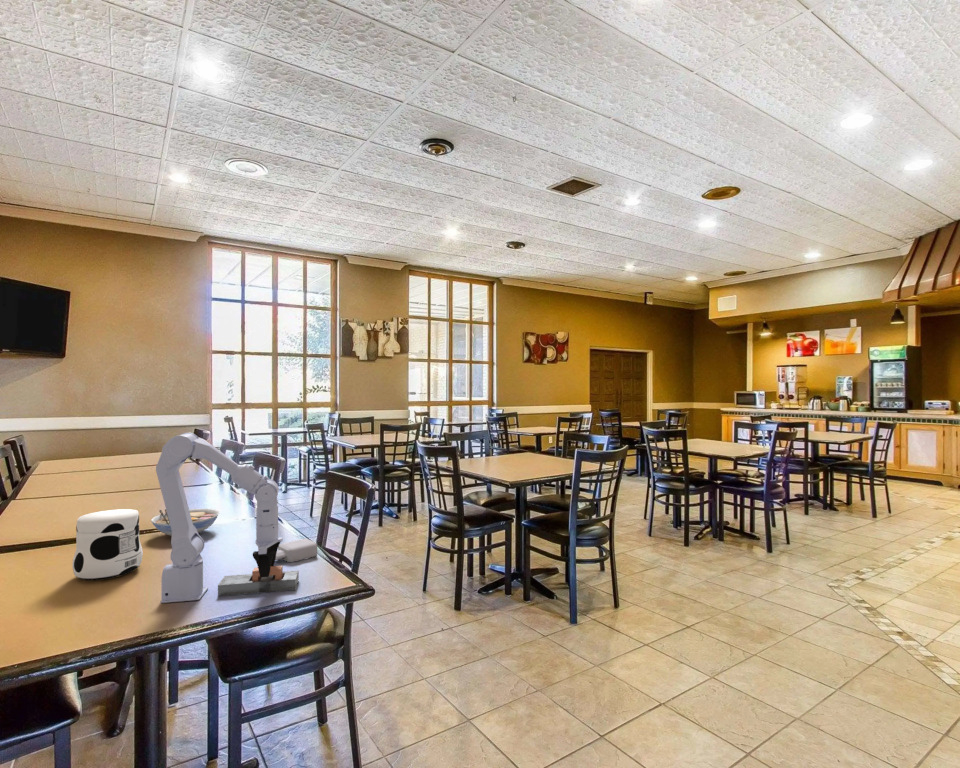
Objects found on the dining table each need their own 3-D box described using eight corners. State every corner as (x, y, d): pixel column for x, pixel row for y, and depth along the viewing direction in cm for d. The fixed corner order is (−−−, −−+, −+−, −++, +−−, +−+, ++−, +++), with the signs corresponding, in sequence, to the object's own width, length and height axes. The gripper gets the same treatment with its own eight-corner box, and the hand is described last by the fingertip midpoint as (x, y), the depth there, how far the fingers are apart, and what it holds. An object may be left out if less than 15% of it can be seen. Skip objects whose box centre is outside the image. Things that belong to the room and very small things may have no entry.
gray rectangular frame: (217, 596, 141) (217, 585, 141) (224, 586, 147) (224, 576, 147) (295, 590, 145) (295, 579, 145) (298, 580, 152) (298, 570, 152)
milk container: (82, 569, 162) (82, 511, 162) (147, 561, 168) (147, 506, 168) (63, 589, 146) (63, 525, 146) (136, 580, 153) (136, 518, 153)
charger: (260, 561, 169) (304, 551, 179) (273, 568, 162) (317, 557, 173) (260, 547, 169) (304, 537, 179) (272, 553, 162) (317, 543, 173)
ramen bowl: (224, 537, 194) (224, 516, 194) (152, 548, 181) (152, 525, 181) (214, 523, 215) (214, 503, 215) (149, 532, 202) (149, 511, 202)
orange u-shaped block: (252, 591, 144) (252, 571, 144) (254, 586, 147) (254, 567, 147) (280, 588, 146) (280, 569, 146) (282, 584, 149) (282, 565, 149)
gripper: (277, 529, 140) (278, 580, 140) (286, 516, 154) (286, 562, 154) (250, 531, 139) (250, 582, 139) (260, 517, 153) (260, 563, 153)
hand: (267, 571), depth 147 cm, fingers open, 7 cm apart
